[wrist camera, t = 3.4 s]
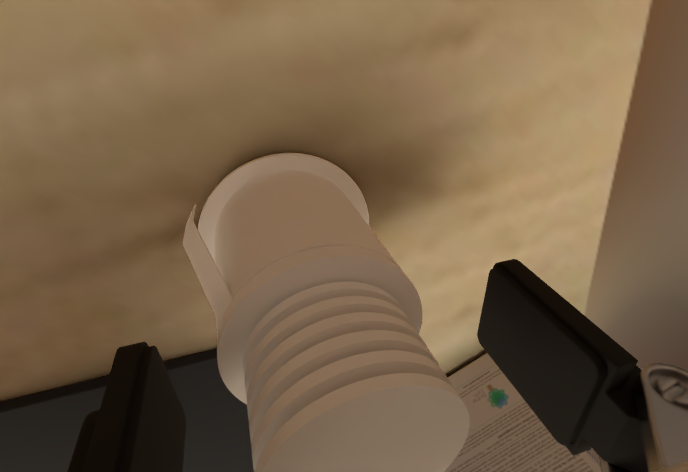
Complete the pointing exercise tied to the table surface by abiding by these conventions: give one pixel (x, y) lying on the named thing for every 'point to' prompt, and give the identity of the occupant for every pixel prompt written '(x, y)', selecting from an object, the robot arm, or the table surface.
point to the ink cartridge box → (506, 428)
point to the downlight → (319, 325)
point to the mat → (82, 398)
